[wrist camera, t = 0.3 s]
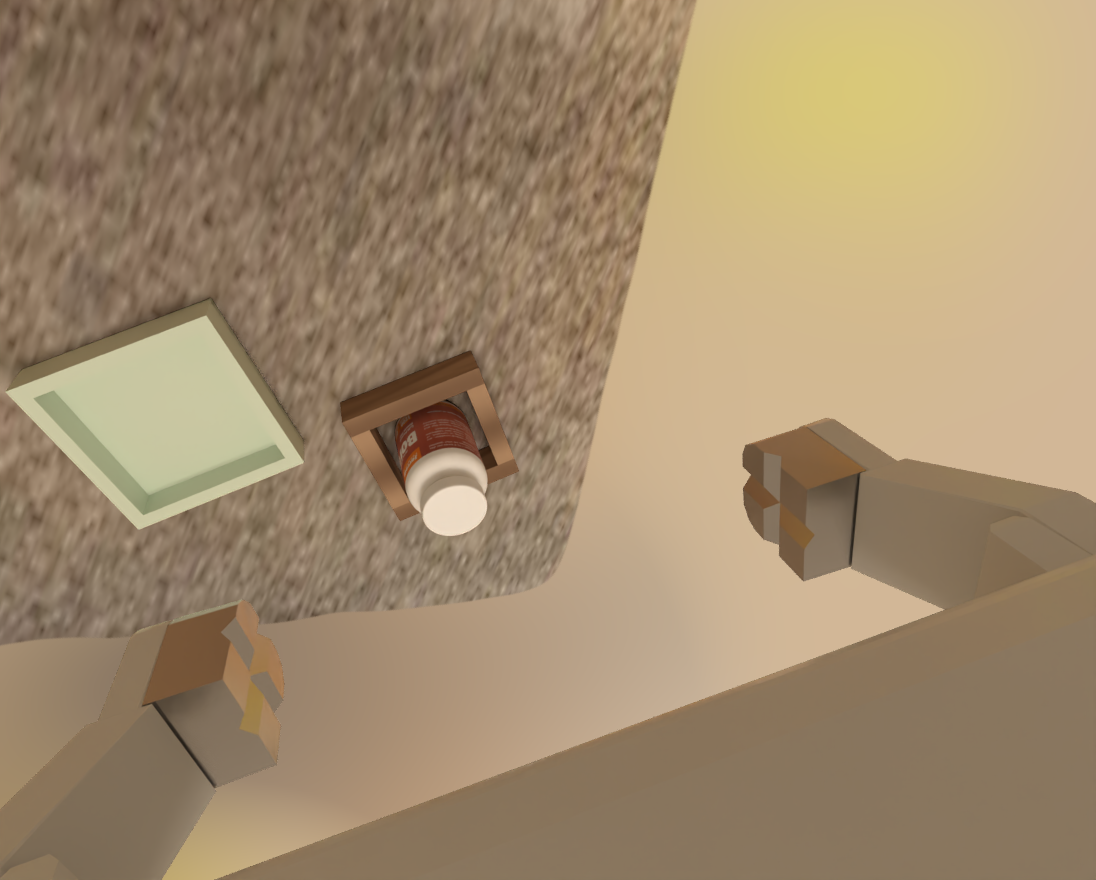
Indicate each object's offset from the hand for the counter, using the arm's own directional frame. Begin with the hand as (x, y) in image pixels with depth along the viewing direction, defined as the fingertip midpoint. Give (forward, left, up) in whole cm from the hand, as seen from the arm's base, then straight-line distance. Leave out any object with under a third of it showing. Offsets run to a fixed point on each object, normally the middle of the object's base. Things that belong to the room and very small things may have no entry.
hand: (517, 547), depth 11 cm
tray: (+13, -20, -39) cm, 46 cm away
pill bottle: (+23, -4, -40) cm, 46 cm away
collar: (+23, -4, -39) cm, 46 cm away
